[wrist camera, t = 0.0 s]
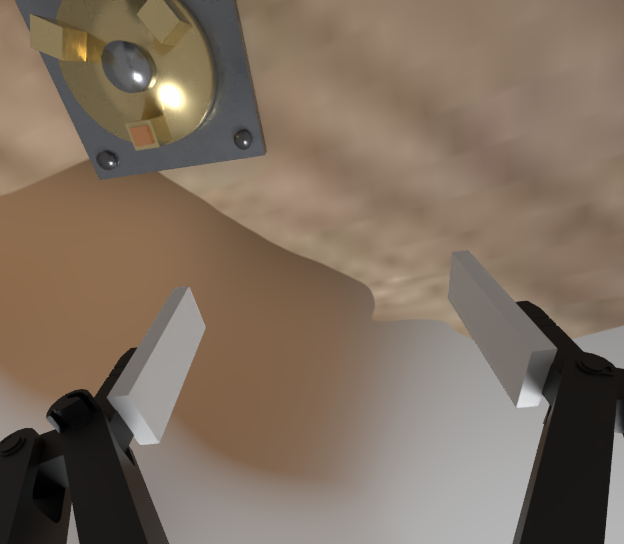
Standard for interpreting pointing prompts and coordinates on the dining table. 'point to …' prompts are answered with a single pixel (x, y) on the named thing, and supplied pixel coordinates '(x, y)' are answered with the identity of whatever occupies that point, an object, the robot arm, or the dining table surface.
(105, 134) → the plate
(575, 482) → the robot arm
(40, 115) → the dining table surface
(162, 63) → the three-jaw lathe chuck
